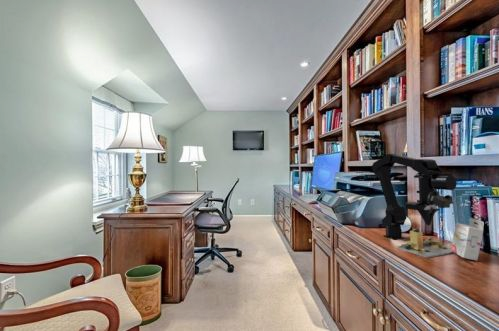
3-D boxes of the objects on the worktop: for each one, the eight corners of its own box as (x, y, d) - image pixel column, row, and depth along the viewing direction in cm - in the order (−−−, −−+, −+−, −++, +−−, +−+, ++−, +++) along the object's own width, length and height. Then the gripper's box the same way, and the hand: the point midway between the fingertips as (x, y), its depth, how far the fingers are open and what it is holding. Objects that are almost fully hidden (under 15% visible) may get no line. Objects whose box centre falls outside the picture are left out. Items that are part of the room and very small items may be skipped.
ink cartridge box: (449, 250, 101) (456, 214, 101) (463, 253, 100) (470, 217, 100) (462, 257, 93) (470, 219, 92) (478, 261, 92) (486, 222, 91)
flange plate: (397, 248, 109) (397, 246, 109) (429, 243, 114) (429, 241, 114) (426, 258, 96) (426, 256, 96) (460, 251, 102) (460, 250, 102)
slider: (405, 245, 108) (404, 227, 108) (410, 245, 109) (409, 226, 109) (421, 251, 101) (421, 231, 101) (427, 250, 102) (426, 230, 102)
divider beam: (400, 247, 108) (400, 241, 108) (431, 242, 113) (431, 236, 113) (417, 252, 100) (417, 246, 100) (449, 247, 106) (448, 241, 106)
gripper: (429, 191, 96) (431, 231, 96) (463, 188, 102) (464, 226, 102) (403, 189, 107) (405, 225, 107) (435, 187, 113) (436, 221, 112)
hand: (428, 225), depth 107 cm, fingers closed
